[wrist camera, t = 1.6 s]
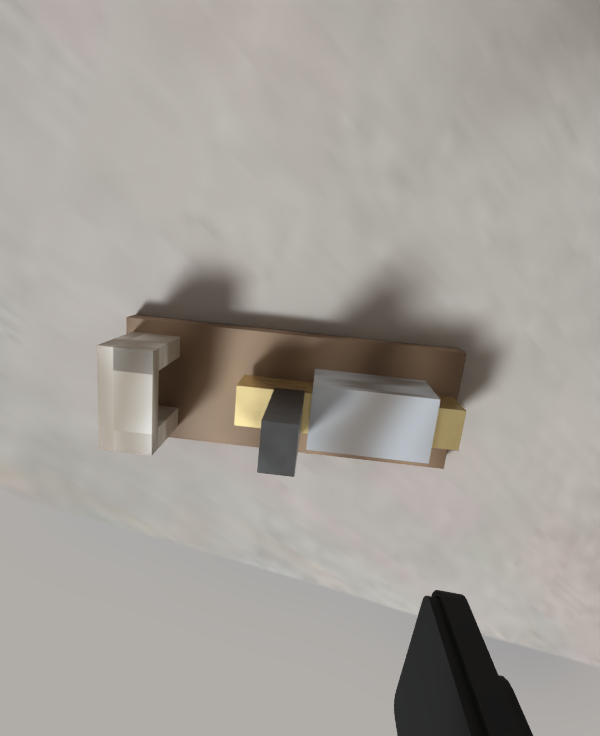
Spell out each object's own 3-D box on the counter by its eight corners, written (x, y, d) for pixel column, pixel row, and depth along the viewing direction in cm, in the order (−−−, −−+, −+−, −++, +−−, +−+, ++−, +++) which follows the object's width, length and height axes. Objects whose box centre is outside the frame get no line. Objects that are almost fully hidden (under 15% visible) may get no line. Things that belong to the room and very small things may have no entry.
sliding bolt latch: (459, 349, 32) (493, 371, 26) (438, 459, 35) (464, 506, 28) (135, 314, 33) (88, 328, 27) (135, 425, 35) (92, 462, 29)
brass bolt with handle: (454, 396, 31) (502, 447, 23) (446, 435, 32) (490, 499, 23) (244, 373, 31) (214, 415, 23) (241, 412, 32) (211, 467, 24)
